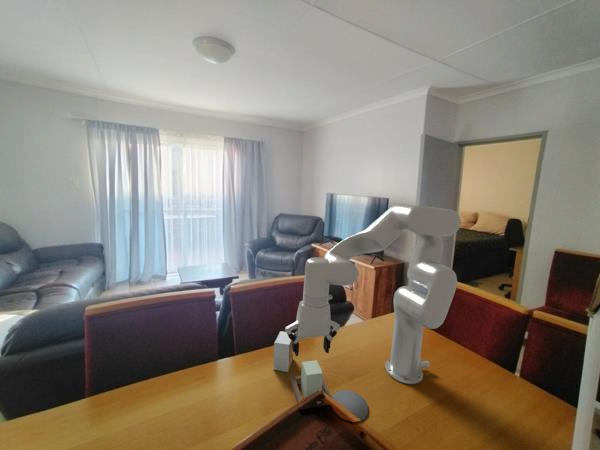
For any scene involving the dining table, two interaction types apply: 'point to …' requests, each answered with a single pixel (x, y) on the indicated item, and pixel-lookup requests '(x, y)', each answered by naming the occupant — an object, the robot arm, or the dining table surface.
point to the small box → (283, 352)
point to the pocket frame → (297, 380)
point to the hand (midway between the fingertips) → (311, 351)
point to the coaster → (352, 403)
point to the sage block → (311, 378)
